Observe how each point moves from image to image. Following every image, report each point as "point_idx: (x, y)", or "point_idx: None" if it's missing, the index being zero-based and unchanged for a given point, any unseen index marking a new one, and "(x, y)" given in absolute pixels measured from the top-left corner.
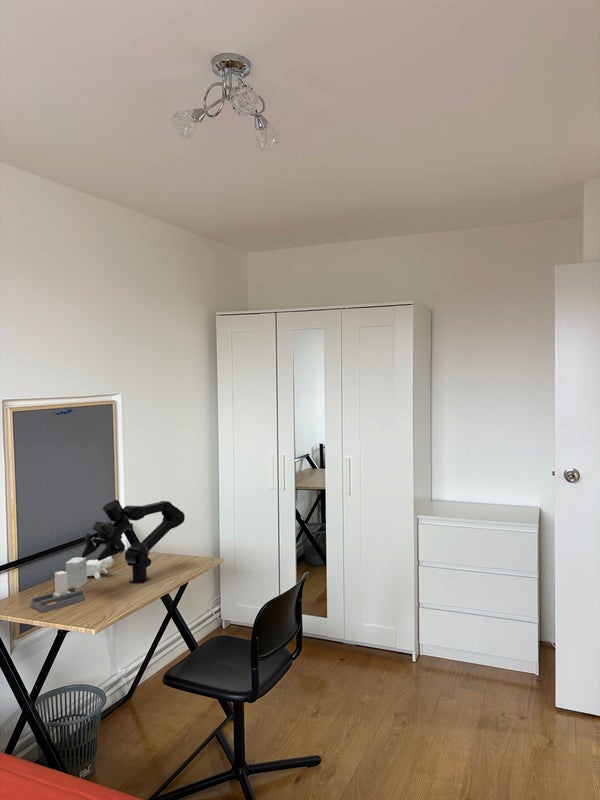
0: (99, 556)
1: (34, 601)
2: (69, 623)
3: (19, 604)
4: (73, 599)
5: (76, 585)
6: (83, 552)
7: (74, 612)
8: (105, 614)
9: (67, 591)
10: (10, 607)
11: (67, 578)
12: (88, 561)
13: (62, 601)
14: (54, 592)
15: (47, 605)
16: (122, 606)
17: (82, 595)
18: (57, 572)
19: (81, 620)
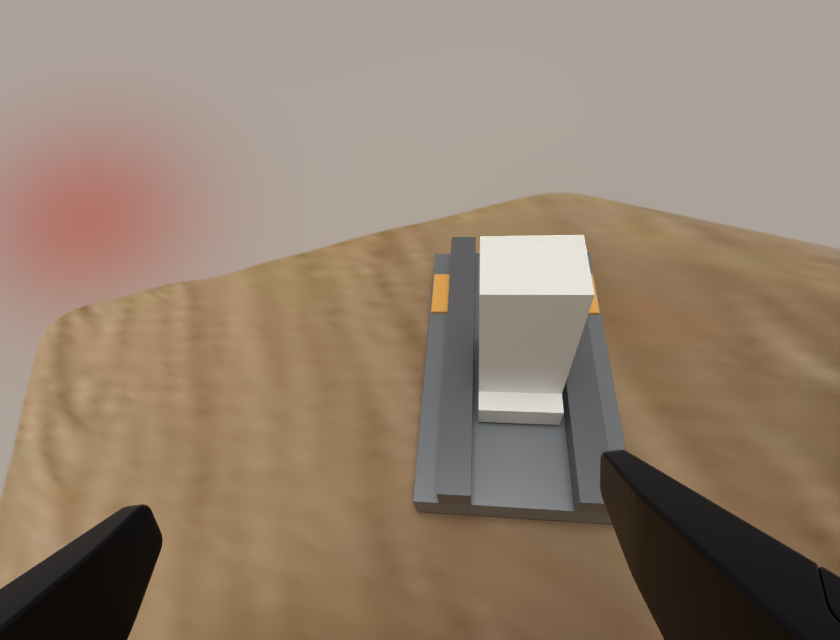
0: (79, 541)
1: None
2: (197, 284)
3: (675, 256)
4: (421, 416)
5: None
6: (680, 494)
7: (289, 359)
8: (91, 439)
9: (479, 382)
10: (654, 221)
11: (480, 329)
12: None
13: (427, 345)
14: (578, 346)
15: (437, 274)
16: None
17: (423, 487)
18: (568, 249)
19: (168, 327)
